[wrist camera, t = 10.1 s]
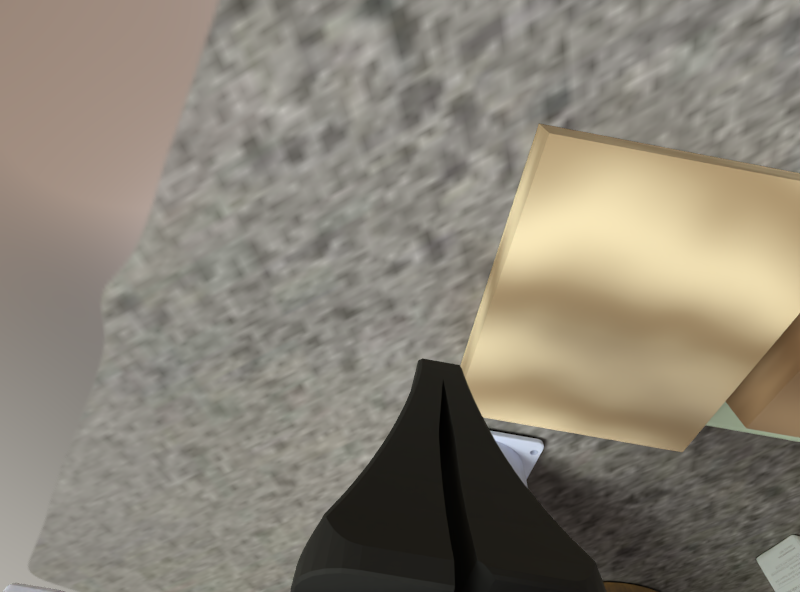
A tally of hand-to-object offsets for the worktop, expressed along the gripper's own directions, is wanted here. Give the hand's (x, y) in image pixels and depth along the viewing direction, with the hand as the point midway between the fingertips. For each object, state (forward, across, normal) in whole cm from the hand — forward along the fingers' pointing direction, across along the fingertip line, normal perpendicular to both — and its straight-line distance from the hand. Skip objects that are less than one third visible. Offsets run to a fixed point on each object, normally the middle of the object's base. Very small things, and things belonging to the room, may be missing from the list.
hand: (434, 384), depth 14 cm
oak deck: (+9, -10, +1) cm, 14 cm away
